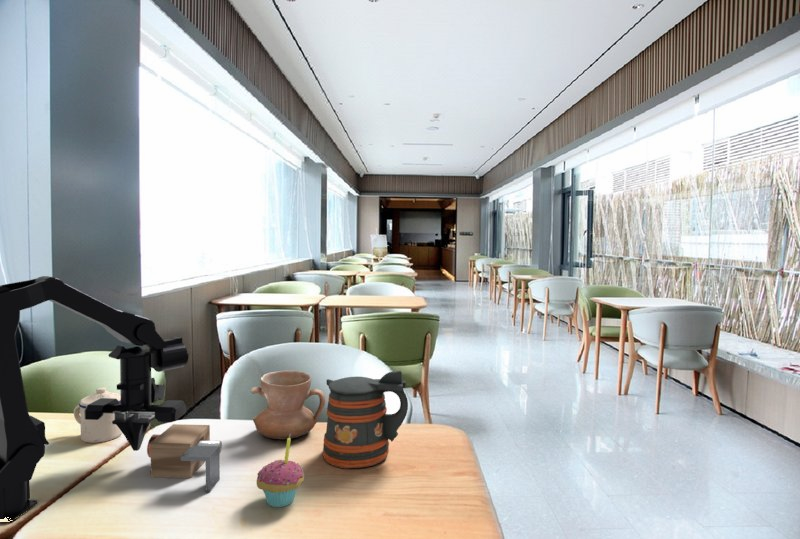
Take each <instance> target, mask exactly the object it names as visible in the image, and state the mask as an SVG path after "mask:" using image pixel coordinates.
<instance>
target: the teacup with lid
mask: <svg viewBox="0 0 800 539" xmlns="http://www.w3.org/2000/svg"><path fill="white" fill-rule="evenodd" d="M100 398H113V399H117V400H118V401H119V403H121V395H120V393H117V392H111V391H109V390H107V388H106V387H105V386H104V387H101V386H100V387H98V388H97V389H96V391H95V392H93V393H91V394H90V395H88V396H85V397H83V398H82V399H80V400H79V403H78V405H76V406H75V408H74V409H73V417H74V420H75V421H76V422H77V423H78V424H79V425H80V439H81V441H82V442H85V443H88V444H89V443H92V444H93V443H95V444H96V443H104V442H105V443H106V442H109V441H111V440H114V439H117V438H118V437H120V436H121V435H122V434H123V433H122V432H121V430H120V429H119V428H118V426H117V425H116V424H112V421H113V420H114V414H113V413H103V416H102V417H101V418H100V419H98V420H85V419H84V410H85V408H86V407H87V405H89V404H91V403H92V402H94V401H96V400H98V399H100Z"/></svg>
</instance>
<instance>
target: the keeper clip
mask: <svg viewBox="0 0 800 539" xmlns="http://www.w3.org/2000/svg"><path fill="white" fill-rule="evenodd" d="M220 454H221V452H220V446H191V447H190V448H189V449H188V450H187V451H186V452H185V453H184V454H183V455H182V456H181V461H205V492H206V493H209V492H211V491H212V490H213V489H214V488H215V486H216V485H217V483H218V482H219V481H220V480H221V479H220V475H221V474H220V472H221V471H220V469H221V468H220V467H221V466H220V464H221V463H220V462H221V458H220Z"/></svg>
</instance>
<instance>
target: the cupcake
mask: <svg viewBox="0 0 800 539" xmlns="http://www.w3.org/2000/svg"><path fill="white" fill-rule="evenodd" d="M290 435H291V434H290ZM290 435H289V438H287V439H286V444H285V445H286V446H285V453H284V454H285V455H284V460H282V459H277V460H274V461H271V462H270V463H268V464H267V465H265V466H263V467H262V468H261V469H260V470H259V471H258V472H257V478H256V487H257V488H258V489H259V490H262V491H263V494H264V496H265V499H266V502H267V504H268V505H269V506H270V507H274V508H281V507H287V506H289V505H290V504H292V503H293V502H294V500H295V497H296V493H297V491H298V489H299V487H300V485H301V484H302V483H303V482H304V480H305V472H304V469H303V467H302V466H301V465H299V463H297V462H295V461H293V460H289V456H290V448H291V441H292V440H291V439H290Z"/></svg>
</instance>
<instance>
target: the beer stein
mask: <svg viewBox="0 0 800 539" xmlns="http://www.w3.org/2000/svg"><path fill="white" fill-rule="evenodd" d="M325 381H326V385H327V386H328V388H329V389H328V390H329V391H330V392H329V394H328V401H327V408H326V416H327V421H326V429H325V430H326V431H325V433H324V435H323V449H322V456H323V459H324V461H325V462H326V463H328V464H330V465H332V467H336V468H339V469H345V470H346V469H347V470H348V469H361V468H368V467H373V466H376V465H378V464H380V463H382V462H383V461H384V460H386V458H387V457H388V455H389V451H390V450H389V446H390V443H389V441H391V442H393V441H394V440H395V439H396V437H397V436H398V435H399V433H398V430H399V429H400V427H401V425H402V424H403V423H404V421H405V419H406V417H407V414H408V409H409V401H408V398H407V397H408V396H407V394H406V392H405V390H404V389H405V388H406V387H407V384H408V383H407V381H405V380H404V377H403V372H402V370H400V369H398V370H393V371H389V372H387V373H385V374H384V375H383V376H382V377H381V378H375V379H374V378H371V377H365V376H348V377H347V376H346V377H343V378H342V377H341V378H339V379H334V380H332V379H328V378H327V379H326V380H325ZM389 392H392V393H394V394H396V396H397V397H398V399H399V401H400V403H399V409H398V410H397V411H396V412H394V413H391V414H390V413H387V411H388V408H387V404H386V396H385V393H389Z"/></svg>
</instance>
